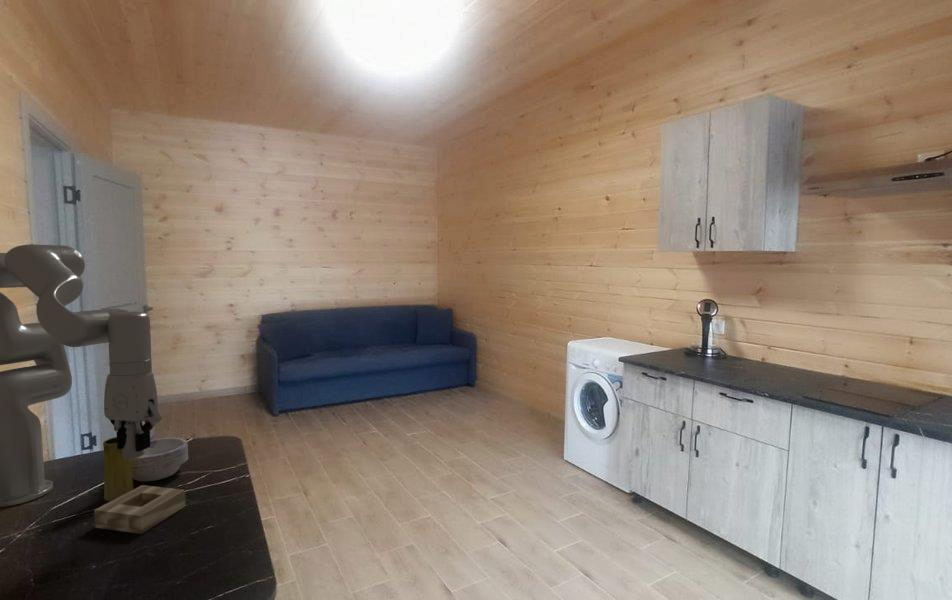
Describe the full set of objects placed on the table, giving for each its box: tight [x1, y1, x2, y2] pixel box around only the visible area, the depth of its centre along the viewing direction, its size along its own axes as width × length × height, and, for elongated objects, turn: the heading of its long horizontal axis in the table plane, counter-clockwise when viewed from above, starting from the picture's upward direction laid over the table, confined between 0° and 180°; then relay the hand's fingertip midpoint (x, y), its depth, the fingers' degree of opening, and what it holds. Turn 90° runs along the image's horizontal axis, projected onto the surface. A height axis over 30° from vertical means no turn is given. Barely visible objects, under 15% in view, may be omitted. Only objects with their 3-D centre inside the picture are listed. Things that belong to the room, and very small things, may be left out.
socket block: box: [94, 484, 186, 535], centre depth 109 cm, size 12×12×4 cm
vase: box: [102, 436, 135, 502], centre depth 119 cm, size 6×6×14 cm
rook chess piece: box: [122, 421, 146, 459], centre depth 107 cm, size 4×4×8 cm
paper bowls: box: [131, 437, 189, 483], centre depth 131 cm, size 15×15×8 cm
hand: (133, 447), depth 107 cm, fingers closed on rook chess piece, 4 cm apart
